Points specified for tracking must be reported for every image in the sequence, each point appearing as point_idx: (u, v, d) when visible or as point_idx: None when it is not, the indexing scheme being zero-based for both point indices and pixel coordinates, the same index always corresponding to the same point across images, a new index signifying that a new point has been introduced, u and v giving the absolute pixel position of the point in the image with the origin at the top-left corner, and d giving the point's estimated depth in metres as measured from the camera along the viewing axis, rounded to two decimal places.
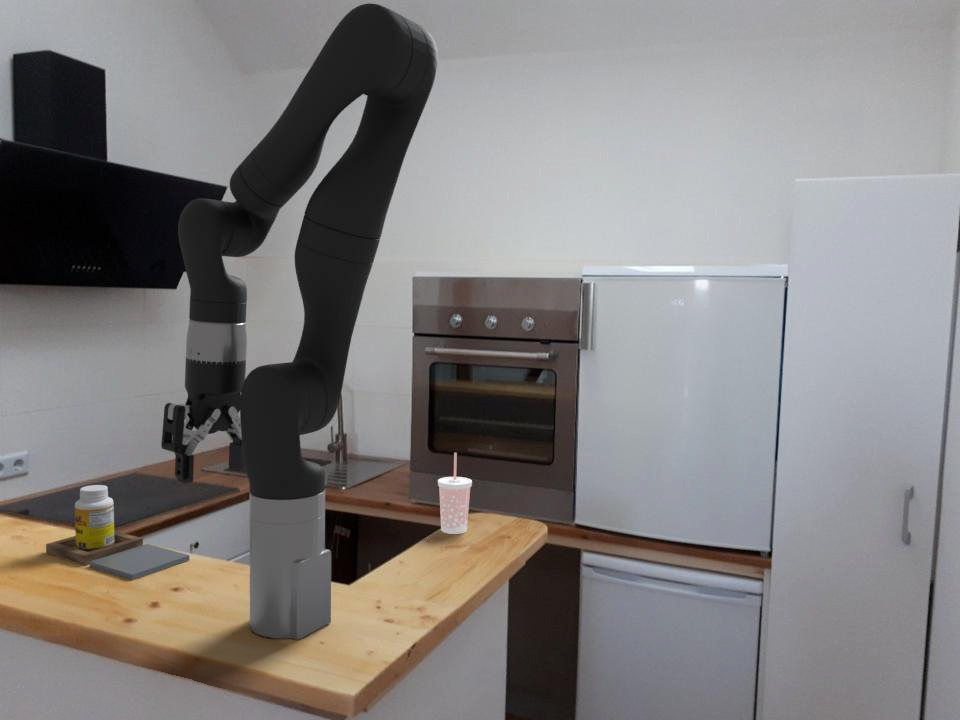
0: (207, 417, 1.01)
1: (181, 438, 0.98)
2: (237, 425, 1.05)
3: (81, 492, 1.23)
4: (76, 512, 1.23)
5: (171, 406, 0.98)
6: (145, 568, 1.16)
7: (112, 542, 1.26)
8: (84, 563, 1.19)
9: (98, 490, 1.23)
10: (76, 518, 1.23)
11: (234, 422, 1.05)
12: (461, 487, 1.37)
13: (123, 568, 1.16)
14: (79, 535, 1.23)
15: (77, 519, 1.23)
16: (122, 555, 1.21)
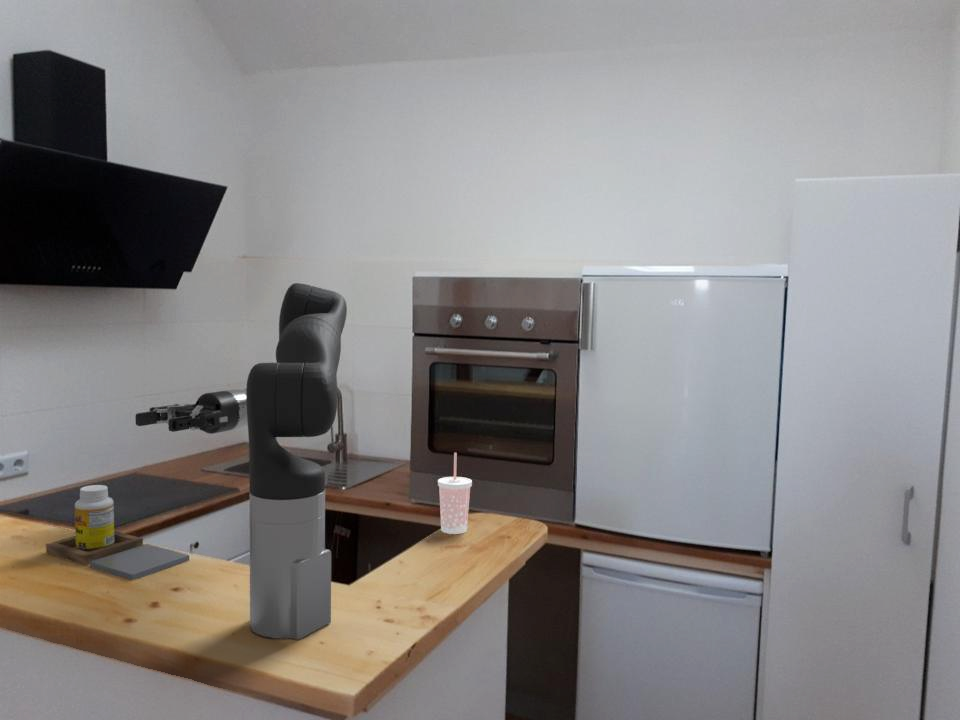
0: None
1: (160, 407, 1.42)
2: (195, 409, 1.38)
3: (81, 492, 1.23)
4: (76, 512, 1.23)
5: None
6: (145, 568, 1.16)
7: (112, 542, 1.26)
8: (84, 563, 1.19)
9: (98, 490, 1.23)
10: (76, 518, 1.23)
11: (196, 408, 1.39)
12: (461, 487, 1.37)
13: (123, 568, 1.16)
14: (79, 535, 1.23)
15: (77, 519, 1.23)
16: (122, 555, 1.21)
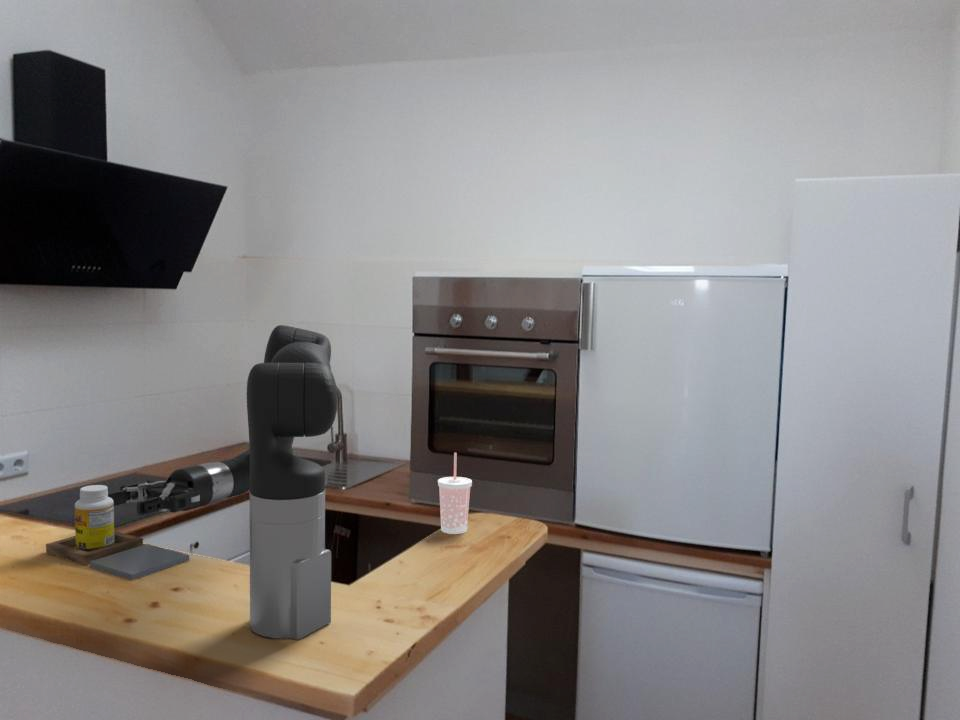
0: None
1: (131, 485, 1.37)
2: (166, 488, 1.34)
3: (81, 492, 1.23)
4: (76, 512, 1.23)
5: None
6: (145, 568, 1.16)
7: (112, 542, 1.26)
8: (84, 563, 1.19)
9: (98, 490, 1.23)
10: (76, 518, 1.23)
11: (167, 487, 1.34)
12: (461, 487, 1.37)
13: (123, 568, 1.16)
14: (79, 535, 1.23)
15: (77, 519, 1.23)
16: (122, 555, 1.21)
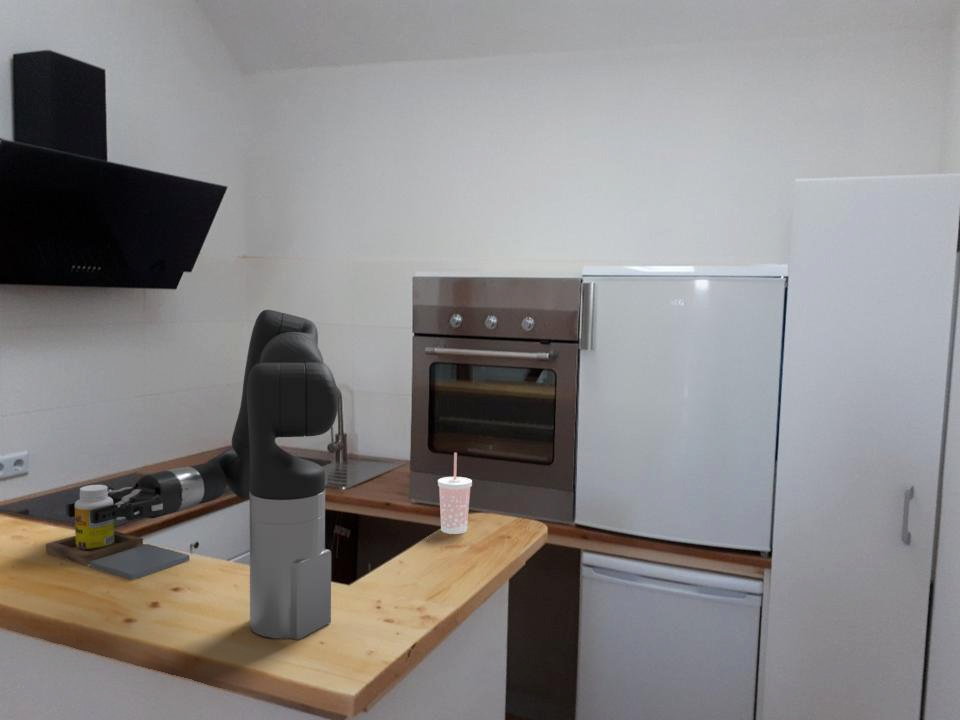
0: (121, 490, 1.32)
1: None
2: (128, 495, 1.28)
3: (81, 492, 1.23)
4: (76, 512, 1.23)
5: None
6: (145, 568, 1.16)
7: (112, 542, 1.26)
8: (84, 563, 1.19)
9: (98, 490, 1.23)
10: (76, 518, 1.23)
11: (130, 494, 1.29)
12: (461, 487, 1.37)
13: (123, 568, 1.16)
14: (79, 535, 1.23)
15: (77, 519, 1.23)
16: (122, 555, 1.21)
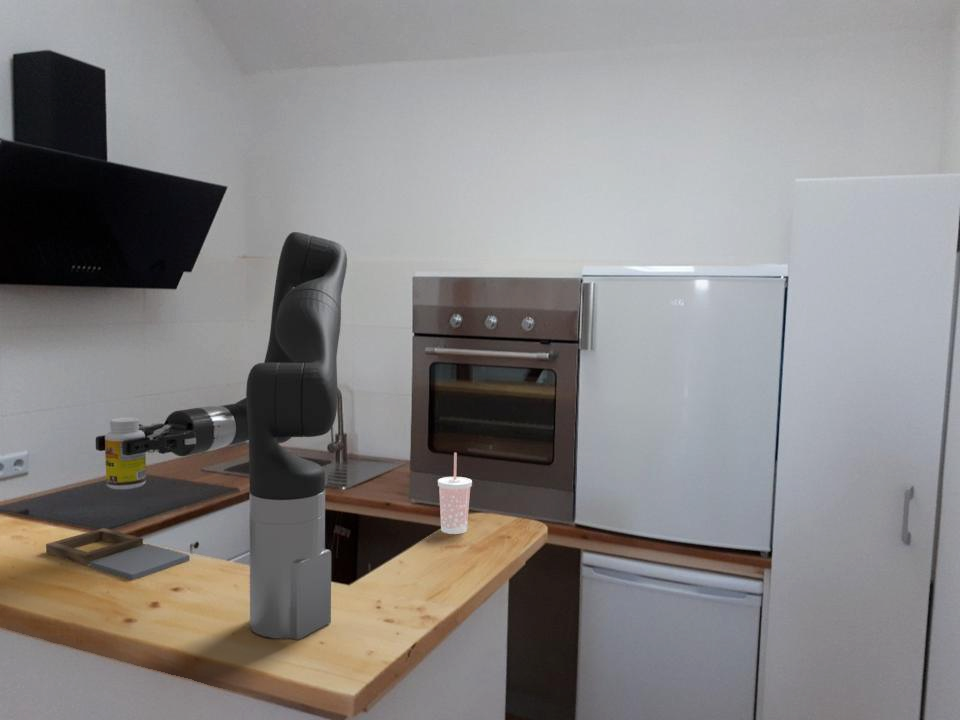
0: None
1: None
2: (160, 429, 1.22)
3: (112, 423, 1.17)
4: (107, 444, 1.17)
5: None
6: (145, 568, 1.16)
7: (144, 477, 1.20)
8: (84, 563, 1.19)
9: (129, 421, 1.18)
10: (107, 450, 1.17)
11: (161, 428, 1.23)
12: (461, 487, 1.37)
13: (123, 568, 1.16)
14: (110, 468, 1.17)
15: (108, 451, 1.17)
16: (122, 555, 1.21)
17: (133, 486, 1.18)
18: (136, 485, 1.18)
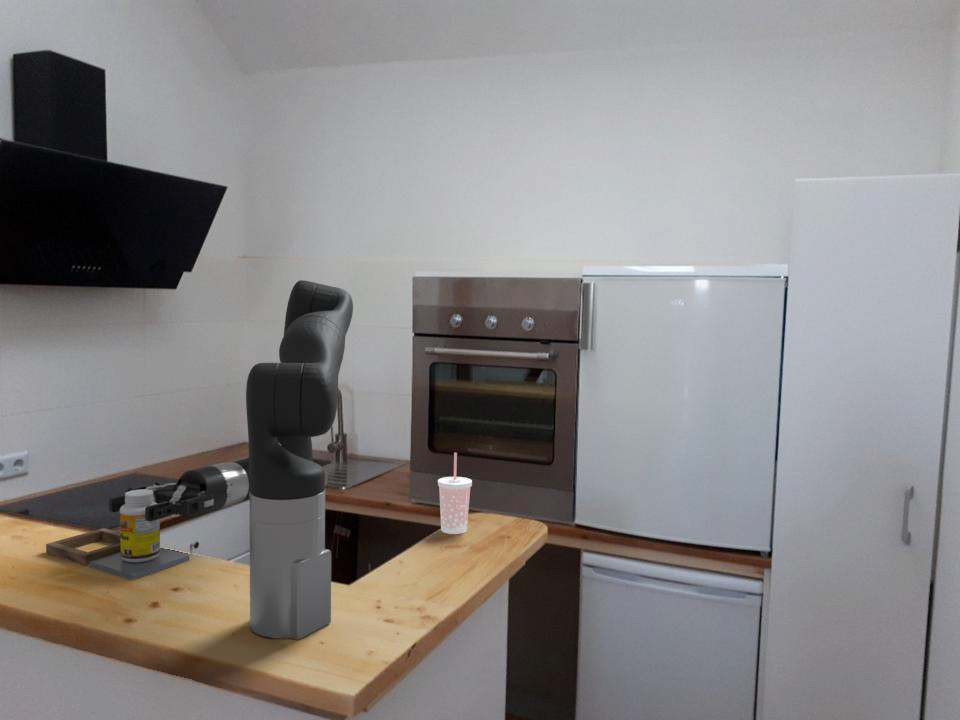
0: None
1: (138, 487, 1.26)
2: (177, 491, 1.22)
3: (127, 497, 1.18)
4: (121, 518, 1.18)
5: None
6: (145, 568, 1.16)
7: (158, 549, 1.20)
8: (84, 563, 1.19)
9: (144, 495, 1.18)
10: (121, 524, 1.18)
11: (177, 490, 1.23)
12: (461, 487, 1.37)
13: (123, 568, 1.16)
14: (125, 542, 1.18)
15: (122, 525, 1.18)
16: None
17: (147, 559, 1.18)
18: (150, 558, 1.19)
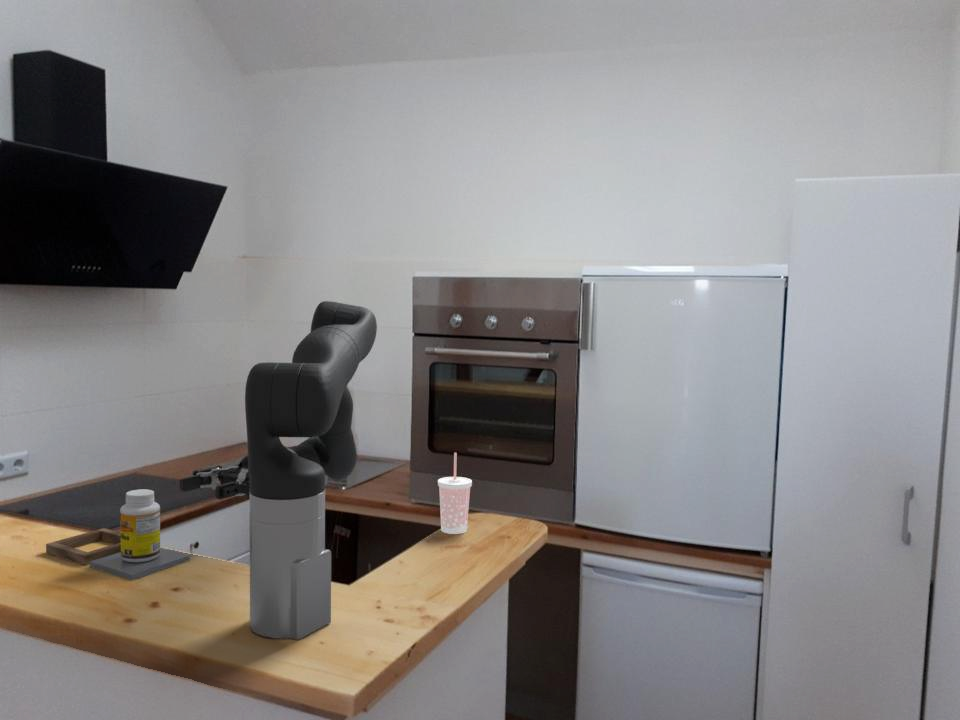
0: None
1: (203, 470, 1.37)
2: (241, 473, 1.33)
3: (128, 497, 1.18)
4: (122, 518, 1.18)
5: None
6: (145, 568, 1.16)
7: (158, 549, 1.20)
8: (84, 563, 1.19)
9: (145, 495, 1.18)
10: (122, 524, 1.18)
11: (241, 472, 1.34)
12: (461, 487, 1.37)
13: (123, 568, 1.16)
14: (125, 542, 1.18)
15: (123, 525, 1.18)
16: None
17: (148, 559, 1.18)
18: (150, 558, 1.19)
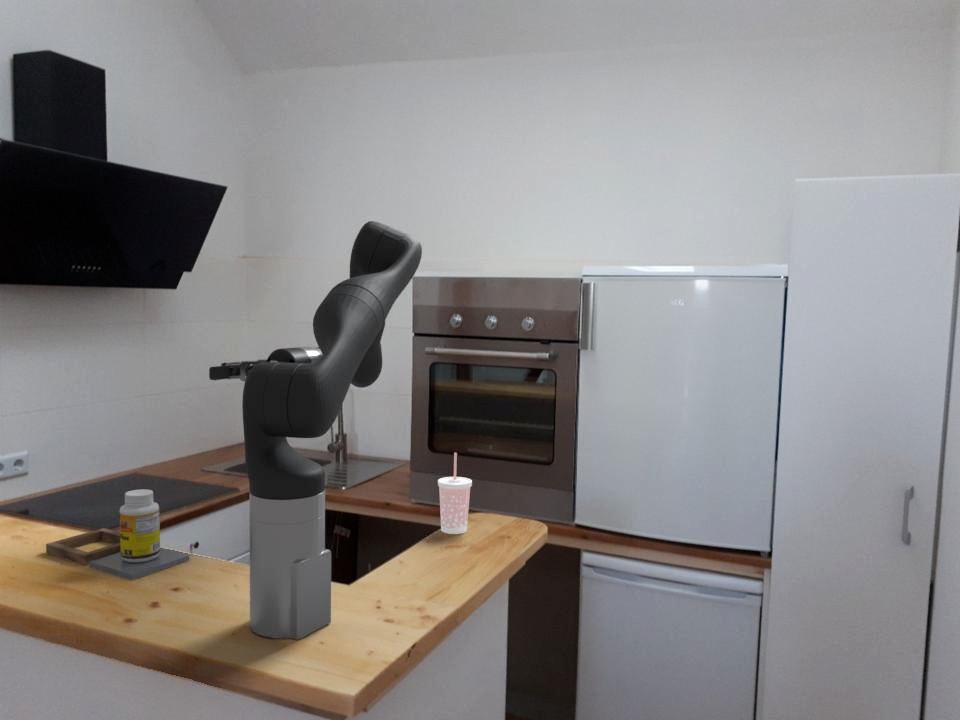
0: None
1: (232, 363, 1.36)
2: None
3: (127, 497, 1.18)
4: (121, 518, 1.18)
5: None
6: (145, 568, 1.16)
7: (158, 549, 1.20)
8: (84, 563, 1.19)
9: (144, 495, 1.18)
10: (121, 524, 1.18)
11: None
12: (461, 487, 1.37)
13: (123, 568, 1.16)
14: (125, 542, 1.18)
15: (122, 525, 1.18)
16: None
17: (148, 559, 1.18)
18: (151, 558, 1.19)
